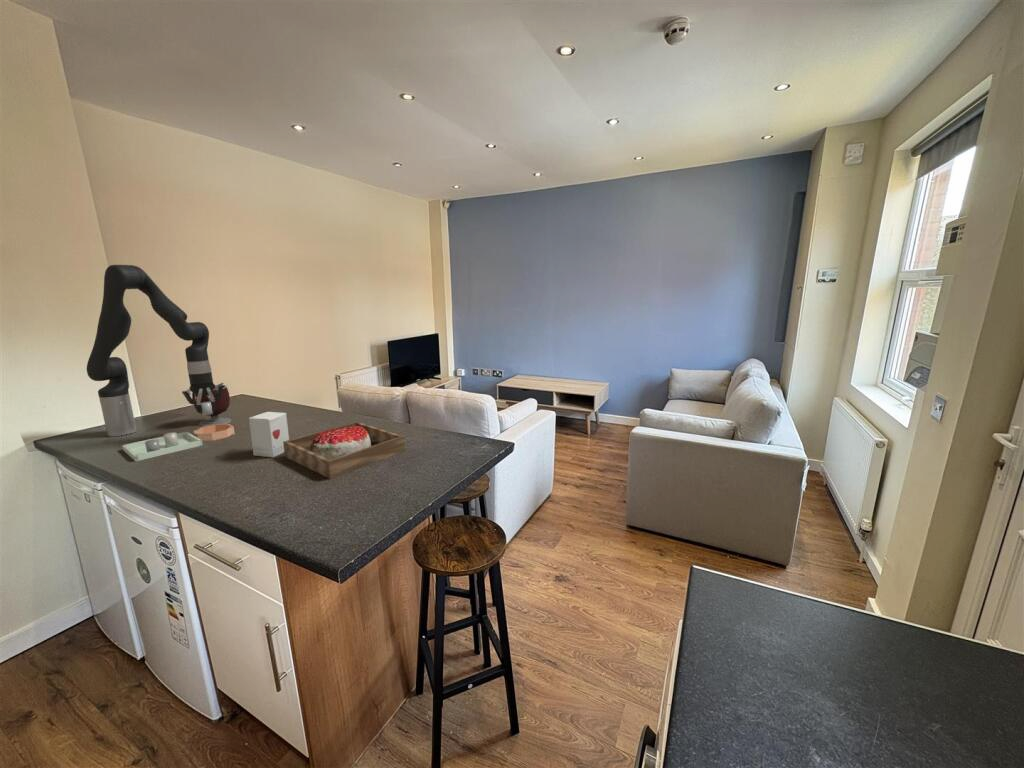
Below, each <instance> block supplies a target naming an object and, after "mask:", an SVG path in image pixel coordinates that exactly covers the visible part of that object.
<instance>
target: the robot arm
mask: <svg viewBox="0 0 1024 768" xmlns="http://www.w3.org/2000/svg"><path fill="white" fill-rule="evenodd" d="M103 278H104V280H103V296H102V303H101V310H100V314H99V318H98V321H97V322H98V323H97V329H96V333H95V340H94V342H93V345H92V346H93V347H92V349H91V351H90V352H91V353H90V355H89V356H88V360H87V362H86V363H87V364H86V373H87V376H88V377H89V379H91V380H92V381H94V382H104V381H108V383H107V384H106V385H104V386H103V387H101V388H100V389H98V391H97V394H98V398H99V404H100V408H101V412H102V417H103V420H104V421H103V422H104V426H105V429H106V434H107V435H106V436H108V437H120V436H121V435H122V436H126V434H127V435H130V433H131V434H133V433H135V432H137V431H138V430H137V426H136V420H135V417H134V416H135V415H134V412H133V407H132V403H131V397H130V396H131V395H130V392H129V389H130V383H129V376H128V375H129V374H128V368H127V364H126V363H125V361H124V360H123V358H120V357H119V356H111V355H112V353H113V352H114V351H115V349H117V347H119V346H120V345H121V344H122V343H123V342H124V341H125V340H126V339H127V337H128V336H129V334H130V330H131V326H132V316H131V315H130V313H129V310H127V307H126V306H125V304H124V297H125V292H126V290H138V291H140V292H142V293H143V294H144V295H146V296H147V298H148V299H149V301H150V305H151V308H152V309H153V311H154V312H155V313H156V315H158V316H159V317H160V318H161V319H163V320H164V321H165V322H167V323H168V325H169V326H170V328H171V329H172V331H173V333H174V334H175V335H176V336H177V337H178V338H180V339H181V340H183V341H188V342H189V341H192V342H191V345H189V346H186V348H185V351H184V352H185V358H186V367H187V373H188V378H189V384H190V385H189V388H188V389H186V390H183V391H181V394H182V395H183V397H184V398H185V400H186V401H187V402H188V404H190V405H193V406H194V405H196V409H195V411H196V412H197V413H198V414H200V415H201V413H202V408H201V405H200V401H201V396H205V395H206V396H207V397H208V398H209V400H210V402H211V405H212V411H215V409H216V405H215V402H216V401H217V400H220V397H221V393H222V389H223V387H222V386H216V385H217V384H215V383H214V379H213V373H212V367H211V363H210V359H209V354H208V346H209V339H210V330H209V328H208V326H207V325H206V324H204V323H203V322H202V321H201V322H200V321H194V322H193V321H192V322H187V319H188V315H187V313H186V312H185V311H184V310H183V309H181V308H180V306H178V305H177V304H176V303H174V302H173V301H172V300H171V299H170V298H169V297H168V296H166V294H165V293H164V291H162V290H161V288H160V287H159V285H157V283H155V282H154V280H153V279H152V278H151V277H150V276H149V275H148V273H147V272H146V271H144V269H142V268H141V267H139V266H137V265H132V264H111V265H109V266H108V267H106V269H105V272H104V277H103ZM214 388H215V390H216V394H215V397H213V394H212V391H213V390H214ZM192 392H193V393H194V394H195V401H193V400H192V396H191V395H192ZM199 396H200V397H199ZM122 436H121V437H122Z"/></svg>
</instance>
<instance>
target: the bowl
mask: <svg viewBox="0 0 1024 768" xmlns="http://www.w3.org/2000/svg"><path fill="white" fill-rule="evenodd" d="M192 435H194V436H196V437H197V438H199V439H201V440H202V442H210V441H217V440H221V439H226V438H229V437H230V436H231V435H235V428H234V425H232V424H230V423H227V424H215V425H214V424H211V425H206V426H202V427H201V426H200V427H199V428H197V429H194V430H193V431H192Z"/></svg>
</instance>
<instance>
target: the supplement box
mask: <svg viewBox="0 0 1024 768" xmlns="http://www.w3.org/2000/svg"><path fill="white" fill-rule="evenodd" d="M248 421H249V422H248V423H249V429H250V431H249V432H250V437H251V445H252V453H253V456H255V457H256V456H257V457H264V458H265V457H267V458H275V457H277V456H279V455H281V454H283V453H285V452H284V445H283V442H284V441H287V440H290V435H289V426H288V418H287V412H278V411H277V412H276V411H275V412H274V411H266V412H262V413H260V414H257V415H253V416H251V417H249V418H248Z"/></svg>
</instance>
